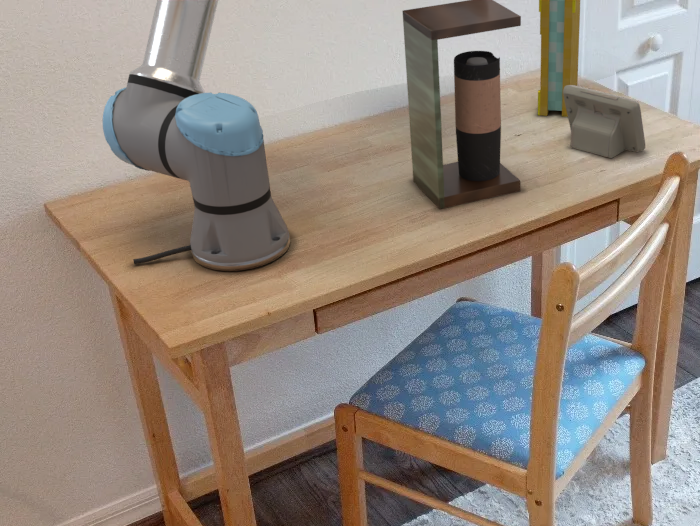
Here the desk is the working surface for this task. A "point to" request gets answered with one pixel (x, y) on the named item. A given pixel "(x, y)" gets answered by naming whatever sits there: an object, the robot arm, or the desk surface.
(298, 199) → the desk surface
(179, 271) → the desk surface
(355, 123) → the desk surface
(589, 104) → the digital clock
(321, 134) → the desk surface
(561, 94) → the book
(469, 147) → the travel mug
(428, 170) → the shelf
